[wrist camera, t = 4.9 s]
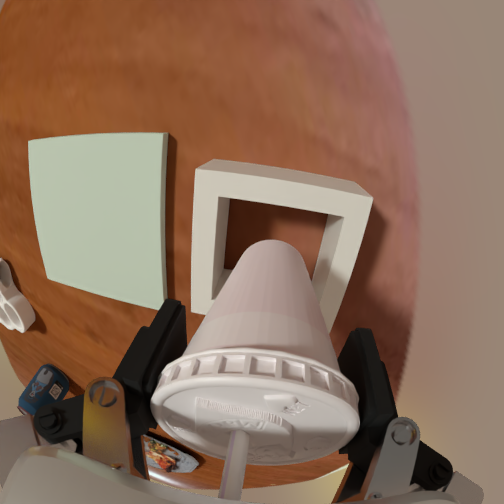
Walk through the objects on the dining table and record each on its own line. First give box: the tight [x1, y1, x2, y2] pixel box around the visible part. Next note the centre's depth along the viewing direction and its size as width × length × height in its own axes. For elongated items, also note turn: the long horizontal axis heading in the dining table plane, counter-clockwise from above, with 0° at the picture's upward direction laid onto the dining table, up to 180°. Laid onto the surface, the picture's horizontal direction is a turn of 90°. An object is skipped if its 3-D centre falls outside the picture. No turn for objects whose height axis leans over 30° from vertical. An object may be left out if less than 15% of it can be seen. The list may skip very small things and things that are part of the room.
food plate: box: [143, 434, 199, 473], centre depth 46 cm, size 25×23×4 cm
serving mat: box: [28, 132, 168, 310], centre depth 22 cm, size 16×16×1 cm
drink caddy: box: [191, 159, 373, 333], centre depth 19 cm, size 10×10×4 cm
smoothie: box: [150, 240, 360, 501], centre depth 9 cm, size 6×6×14 cm
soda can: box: [17, 364, 69, 416], centre depth 33 cm, size 7×7×12 cm
